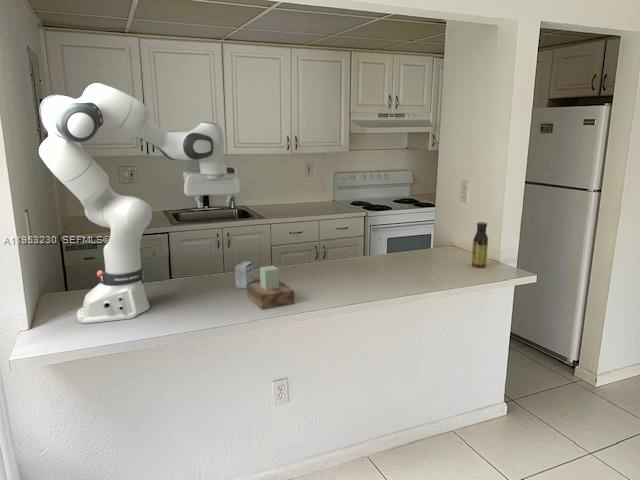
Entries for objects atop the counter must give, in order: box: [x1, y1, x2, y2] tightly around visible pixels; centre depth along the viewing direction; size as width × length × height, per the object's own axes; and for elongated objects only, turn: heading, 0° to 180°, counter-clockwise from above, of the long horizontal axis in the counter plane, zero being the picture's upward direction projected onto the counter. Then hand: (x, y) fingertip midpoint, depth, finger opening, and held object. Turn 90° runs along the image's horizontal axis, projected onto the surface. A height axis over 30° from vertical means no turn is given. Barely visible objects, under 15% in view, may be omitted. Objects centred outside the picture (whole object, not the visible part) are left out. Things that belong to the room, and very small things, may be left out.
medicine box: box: [234, 260, 254, 289], centre depth 186 cm, size 8×4×9 cm, turn 168°
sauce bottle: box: [471, 221, 489, 268], centre depth 210 cm, size 6×6×20 cm
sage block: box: [259, 265, 280, 290], centre depth 168 cm, size 5×5×7 cm
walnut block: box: [246, 280, 295, 310], centre depth 169 cm, size 12×14×5 cm
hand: (213, 207), depth 174 cm, fingers open, 8 cm apart
